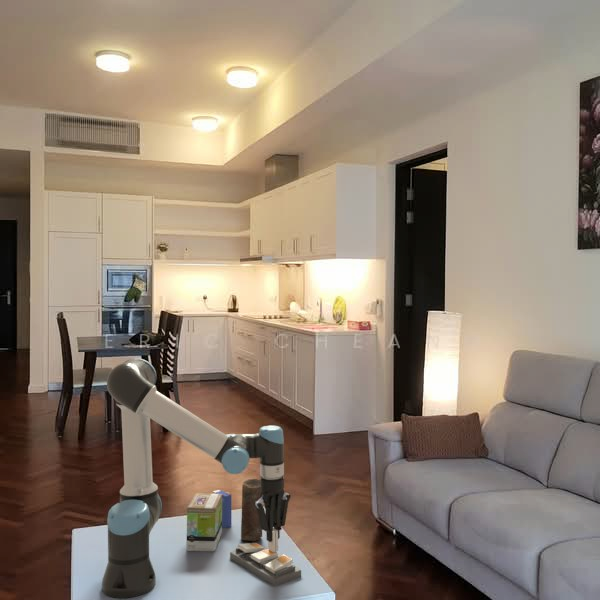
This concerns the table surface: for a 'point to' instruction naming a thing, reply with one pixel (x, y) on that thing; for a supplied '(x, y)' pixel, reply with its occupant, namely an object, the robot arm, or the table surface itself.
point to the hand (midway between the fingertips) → (273, 550)
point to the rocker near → (278, 563)
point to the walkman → (225, 508)
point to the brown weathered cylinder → (250, 510)
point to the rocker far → (250, 547)
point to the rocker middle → (264, 555)
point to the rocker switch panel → (261, 571)
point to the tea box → (204, 522)
